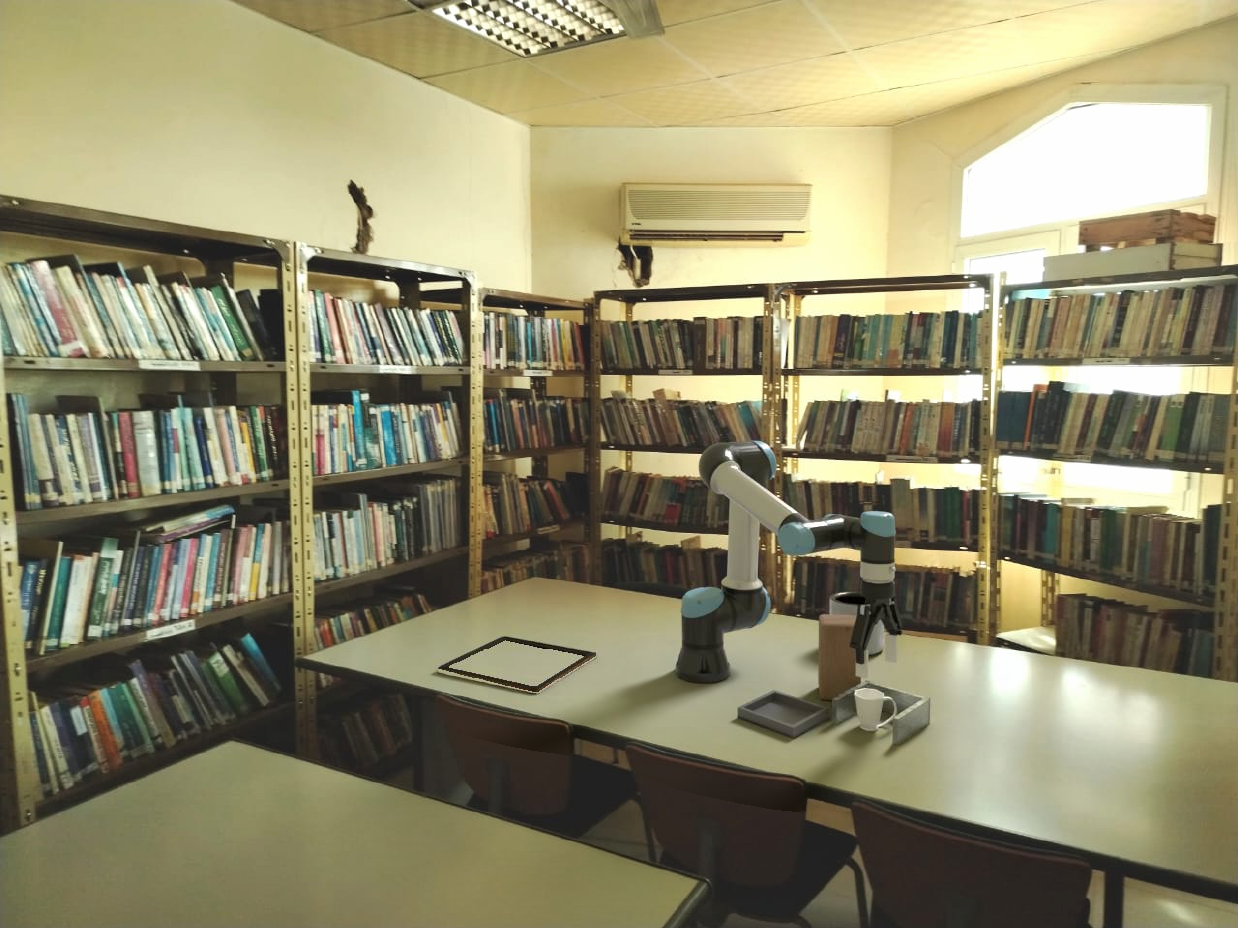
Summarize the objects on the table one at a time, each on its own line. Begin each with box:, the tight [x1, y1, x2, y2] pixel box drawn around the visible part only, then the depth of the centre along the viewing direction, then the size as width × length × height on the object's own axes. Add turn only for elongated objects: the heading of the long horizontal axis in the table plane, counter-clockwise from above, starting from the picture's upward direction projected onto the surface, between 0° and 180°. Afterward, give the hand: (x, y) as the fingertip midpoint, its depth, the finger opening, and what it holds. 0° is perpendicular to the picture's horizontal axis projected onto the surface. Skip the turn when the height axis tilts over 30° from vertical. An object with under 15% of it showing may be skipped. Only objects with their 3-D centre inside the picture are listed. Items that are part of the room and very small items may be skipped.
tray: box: [737, 689, 830, 739], centre depth 187 cm, size 16×15×3 cm
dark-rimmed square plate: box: [437, 636, 597, 692], centre depth 226 cm, size 38×35×3 cm
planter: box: [829, 591, 885, 656], centre depth 235 cm, size 16×16×16 cm
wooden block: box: [817, 613, 862, 701], centre depth 200 cm, size 10×10×20 cm
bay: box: [831, 679, 931, 746], centre depth 183 cm, size 16×16×6 cm
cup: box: [854, 688, 897, 732], centre depth 181 cm, size 7×10×8 cm
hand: (876, 669), depth 180 cm, fingers open, 13 cm apart
